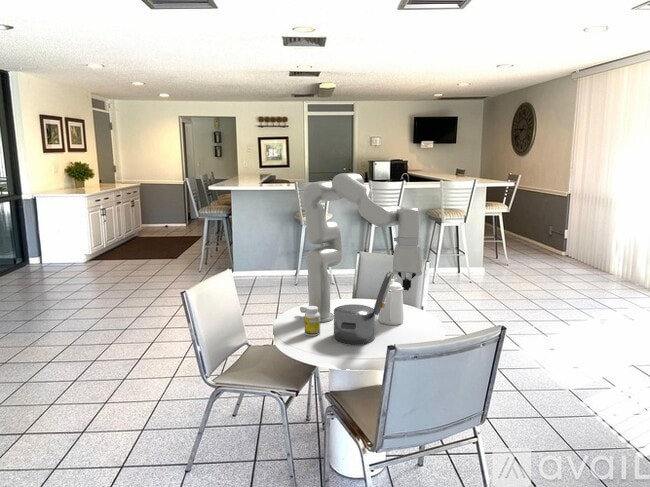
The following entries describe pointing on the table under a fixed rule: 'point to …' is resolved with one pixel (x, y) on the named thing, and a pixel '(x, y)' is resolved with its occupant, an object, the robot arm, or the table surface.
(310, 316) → the pill bottle
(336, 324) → the cooker pot
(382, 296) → the cooker lid
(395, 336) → the table surface
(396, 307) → the coffeepot
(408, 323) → the table surface
